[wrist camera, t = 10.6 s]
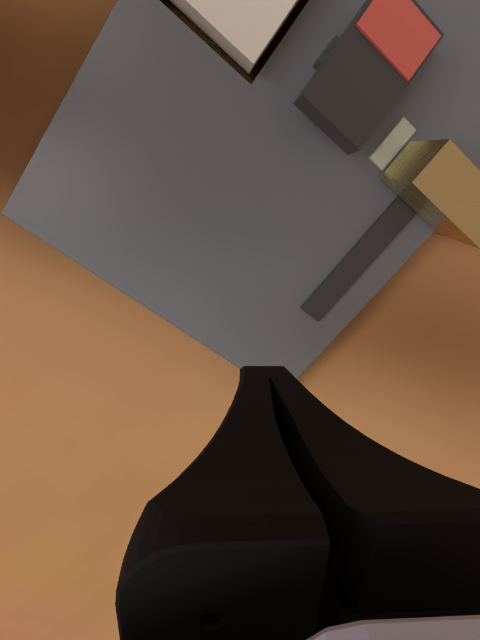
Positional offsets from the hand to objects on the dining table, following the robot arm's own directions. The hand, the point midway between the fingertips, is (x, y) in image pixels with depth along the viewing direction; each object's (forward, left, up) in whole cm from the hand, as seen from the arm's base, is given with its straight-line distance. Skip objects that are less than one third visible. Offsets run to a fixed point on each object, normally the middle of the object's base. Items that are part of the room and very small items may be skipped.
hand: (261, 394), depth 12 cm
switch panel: (-3, +8, -9) cm, 13 cm away
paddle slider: (+3, +9, -7) cm, 12 cm away
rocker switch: (-2, +10, -6) cm, 12 cm away
